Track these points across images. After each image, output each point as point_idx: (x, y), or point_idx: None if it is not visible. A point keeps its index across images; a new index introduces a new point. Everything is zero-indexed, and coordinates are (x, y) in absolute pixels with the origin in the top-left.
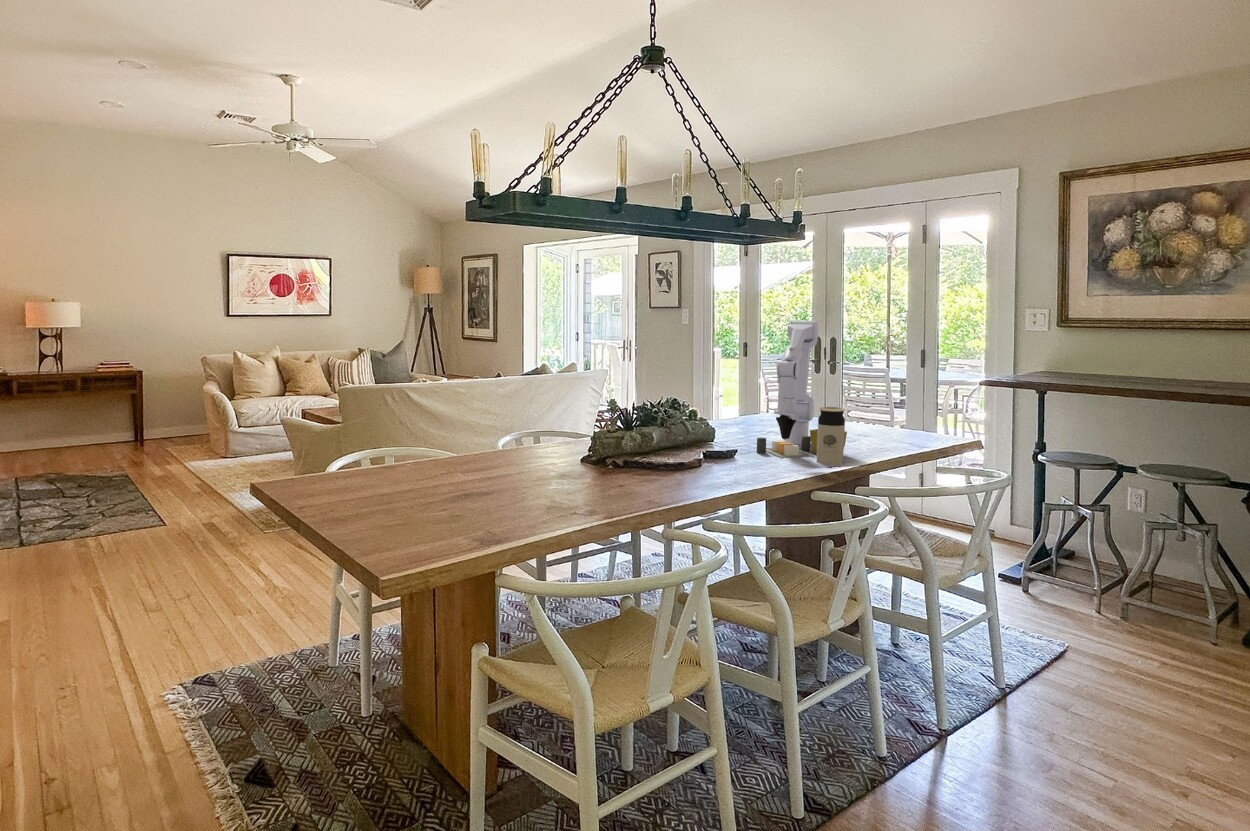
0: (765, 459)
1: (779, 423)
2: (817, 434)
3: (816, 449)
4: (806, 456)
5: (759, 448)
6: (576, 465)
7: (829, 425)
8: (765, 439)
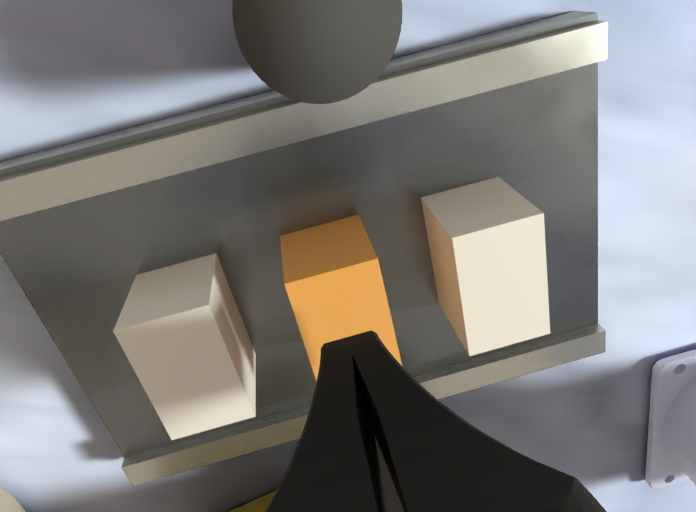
0: (98, 22)
1: (417, 466)
2: None
3: None
4: (133, 427)
5: None
6: None
7: None
8: (262, 78)
